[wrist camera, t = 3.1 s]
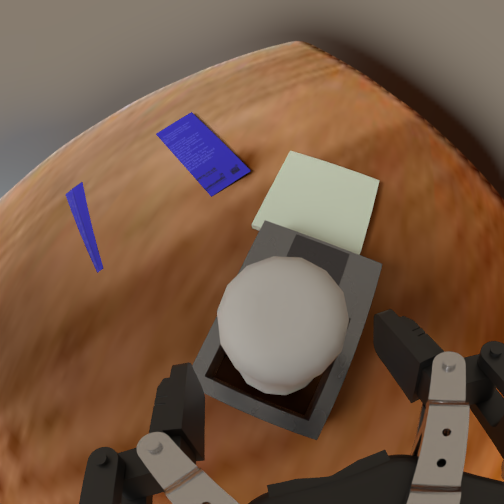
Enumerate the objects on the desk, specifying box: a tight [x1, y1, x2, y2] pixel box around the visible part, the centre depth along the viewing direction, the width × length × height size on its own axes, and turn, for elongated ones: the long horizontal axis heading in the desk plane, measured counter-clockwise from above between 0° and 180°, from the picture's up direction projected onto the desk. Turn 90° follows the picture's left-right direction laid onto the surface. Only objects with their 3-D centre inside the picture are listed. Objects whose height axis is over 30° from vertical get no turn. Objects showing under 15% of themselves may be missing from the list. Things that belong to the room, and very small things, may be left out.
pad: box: [252, 151, 379, 255], centre depth 25 cm, size 9×9×1 cm
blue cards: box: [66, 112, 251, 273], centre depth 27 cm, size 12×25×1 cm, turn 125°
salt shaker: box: [217, 256, 349, 395], centre depth 14 cm, size 6×6×13 cm
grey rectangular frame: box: [192, 220, 382, 440], centre depth 19 cm, size 9×12×3 cm
